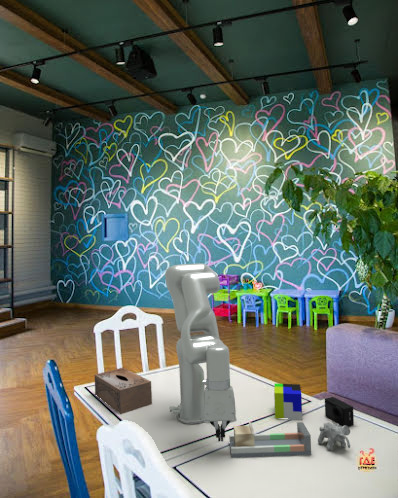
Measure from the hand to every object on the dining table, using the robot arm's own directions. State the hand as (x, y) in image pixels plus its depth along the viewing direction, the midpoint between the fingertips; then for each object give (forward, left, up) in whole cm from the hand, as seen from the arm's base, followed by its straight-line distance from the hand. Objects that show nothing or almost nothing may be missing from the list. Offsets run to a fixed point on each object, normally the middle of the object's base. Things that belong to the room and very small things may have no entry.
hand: (220, 439), depth 126 cm
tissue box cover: (-41, +45, -4) cm, 61 cm away
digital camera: (+44, +18, -4) cm, 48 cm away
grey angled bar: (+27, 0, -2) cm, 27 cm away
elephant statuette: (+38, -1, -4) cm, 38 cm away
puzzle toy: (+28, +25, -4) cm, 37 cm away
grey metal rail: (+16, 0, -4) cm, 16 cm away
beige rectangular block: (+8, 0, -2) cm, 8 cm away
